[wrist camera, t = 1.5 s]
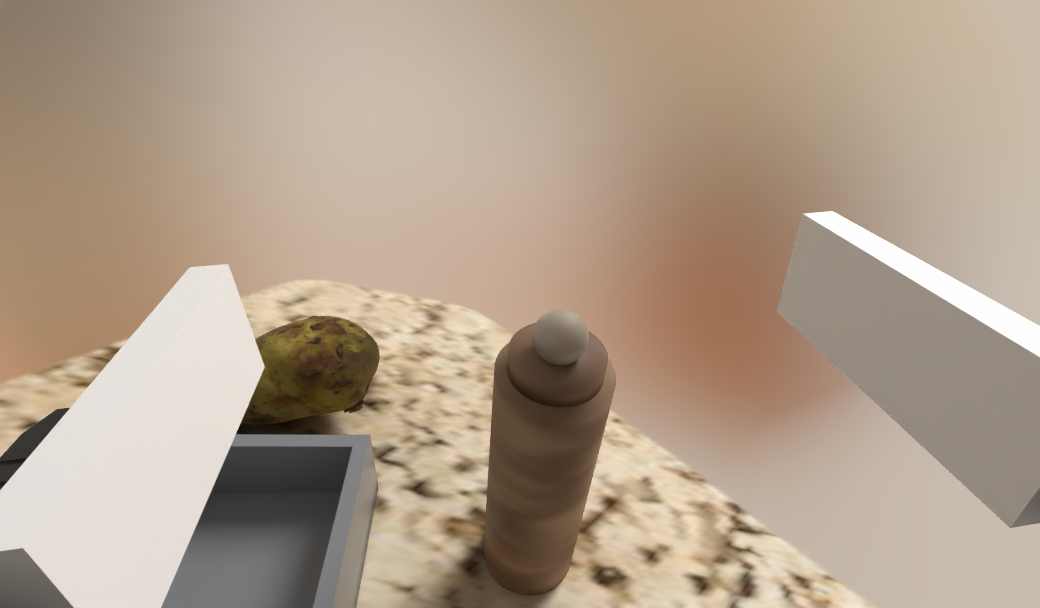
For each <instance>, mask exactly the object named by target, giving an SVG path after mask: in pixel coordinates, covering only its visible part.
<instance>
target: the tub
mask: <svg viewBox="0 0 1040 608" xmlns="http://www.w3.org/2000/svg"><path fill="white" fill-rule="evenodd" d="M377 492H378V484H377V477H376V470H375V464H374V457H373V450H372V443H371V437H370V435H263V434H236V435H235V437H234V440H233V442H232V444H231V446H230V449H229V451H228V453H227V456H226V458H225V460H224V463H223V465H222V467H221V470H220V472H219V474H218V477H217V479H216V481H215V484H214V486H213V488H212V491H211V493H210V495H209V498H208V500H207V502H206V505H205V507H204V509H203V511H202V514H201V516H200V518H199V521H198V523H197V525H196V528H195V530H194V532H193V535H192V537H191V539H190V542H189V544H188V546H187V549H186V551H185V553H184V556H183V558H182V560H181V563H180V565H179V567H178V570H177V572H176V574H175V576H174V579H173V581H172V583H171V586H170V588H169V590H168V593H167V595H166V597H165V600H164V602H163V604H162V607H161V608H356V604H357V599H358V594H359V588H360V583H361V578H362V572H363V567H364V561H365V556H366V551H367V545H368V540H369V535H370V529H371V524H372V518H373V513H374V508H375V502H376V497H377Z"/></svg>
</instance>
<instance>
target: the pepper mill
mask: <svg viewBox="0 0 1040 608" xmlns="http://www.w3.org/2000/svg"><path fill="white" fill-rule="evenodd" d="M615 385H616V375H615V371H614V368H613V366H612V364H611V362H610V360H609V359H608V355H607V351H606V349H605V347H604V345H603V344H602V343H601V341H600V340H599V339H598V338H597V337H596V336H594V335H593V334H592V333H590V332H589V331H588V329H587V326H586V324H585V322H584V321H583V320H582V318H581V317H580V316H579V315H577V314H576V313H574V312H572V311H569V310H565V309H555V310H551V311H549V312H547V313H545V314H544V315H542V316H541V317H540V318H539V319H538V321H537V323H534V324H531V325H528V326H526V327H524V328H522V329H521V330H519V331H518V332H517V333H516V334H515V335H514V336H513V337H512V339H511V341H510V343H508V344H507V345H506V346H505V347H504V348H503V349H502V350H501V351H500V353H499V354H498V356H497V358H496V362H495V369H494V386H493V403H492V420H491V437H490V454H489V470H488V487H487V504H486V521H485V538H484V557H485V562H486V565H487V567H488V569H489V571H490V573H491V574H492V576H493V577H494V578H495V579H496V581H497V582H498V583H500V584H501V585H502V586H503V587H505V588H507V589H508V590H510V591H513V592H516V593H519V594H524V595H535V594H541V593H544V592H547V591H549V590H551V589H552V588H554V587H555V586H557V585H558V584H559V583H560V582H561V581H562V580H563V578H564V577H565V576H566V574H567V572H568V569H569V567H570V563H571V559H572V555H573V551H574V547H575V544H576V540H577V536H578V532H579V528H580V524H581V520H582V516H583V512H584V508H585V504H586V500H587V496H588V492H589V488H590V484H591V481H592V477H593V473H594V469H595V465H596V461H597V457H598V453H599V449H600V445H601V441H602V437H603V433H604V429H605V425H606V421H607V418H608V414H609V410H610V406H611V402H612V398H613V393H614V390H615Z"/></svg>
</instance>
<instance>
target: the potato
mask: <svg viewBox="0 0 1040 608" xmlns="http://www.w3.org/2000/svg"><path fill="white" fill-rule="evenodd" d="M255 341H256V344H257V347H258V349H259V352H260V355H261V358H262V361H263V363H264V366H265V368H264V370H263V372H262V375H261V377H260V379H259V381H258V384H257V386H256V388H255V391H254V393H253V395H252V398H251V400H250V402H249V405H248V407H247V409H246V412H245V414H244V416H243V419H242V421H241V423H240V424H243V425H263V424H268V425H269V424H277V423H282V422H287V421H291V420H295V419H299V418H304V417H308V416H313V415H318V414H324V413H330V412H337V411H342V410H344V411H345V413H346V412H348V411H350V412H349V413H352V412H356V411H358V410H360V409H361V408H363V406H362V405H363V403H364V401H363V398H364V397H365V395H366V394H367V391H368V388H369V385H370V383H371V380H372V377H373V376H374V374H375V372H376V370H377V367H378V363H379V358H380V356H379V349H378V346H377V343H376V342H375V340H374V339H373V338H372V337H371V336H370V335H369V334H368V333H367V332H366V331H365V330H364V329H362V328H361V327H360V326H358V325H357V324H355V323H353V322H351V321H348V320H345V319H342V318H337V317H332V316H312V317H310V318H308V319H304V320H301V321H297V322H294V323H291V324H287V325H284V326H281V327H279V328H276V329H274V330H272V331H270V332H268V333H266V334H264V335H262V336H260V337H258V338H256V339H255Z"/></svg>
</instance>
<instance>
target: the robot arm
mask: <svg viewBox="0 0 1040 608" xmlns="http://www.w3.org/2000/svg"><path fill="white" fill-rule="evenodd" d="M777 312H779V313H780V314H781V315H782V316H783V317H784V318H785V319H786V320H787V321H788V322H789V323H790V324H791V325H792V326H794V327H795V328H796V329H797V330H798V331H799V332H800V333H801V334H802V335H803V336H804V337H805V338H806V339H808V340H809V341H810V342H811V343H812V344H813V345H814V346H815V347H816V348H817V349H818V350H819V351H820V352H821V353H823V354H824V355H825V356H826V357H827V358H828V359H829V360H830V361H831V362H832V363H833V364H834V365H835V366H837V367H838V368H839V369H840V370H841V371H842V372H843V373H844V374H845V375H846V376H848V378H849V379H851V380H852V381H853V382H854V383H855V384H856V385H857V386H858V387H859V388H860V389H861V390H862V391H864V393H866V394H867V395H868V396H869V397H870V398H871V399H872V400H873V401H874V402H875V403H876V404H877V405H879V406H880V407H881V408H882V409H883V410H884V411H885V412H886V413H887V414H888V415H889V416H890V417H891V418H892V419H894V420H895V421H896V422H897V423H898V424H899V425H900V426H901V427H902V428H903V429H904V430H905V431H907V432H908V433H909V434H910V435H911V436H912V437H913V438H914V439H915V440H916V441H917V442H918V443H919V444H920V445H921V446H923V447H924V448H925V449H926V450H927V451H928V452H929V453H930V454H931V455H932V456H933V457H934V458H935V459H937V460H938V461H939V462H940V463H941V464H942V465H943V466H944V467H945V468H946V469H947V470H948V471H949V472H951V473H952V474H953V475H954V476H955V477H956V478H957V479H958V480H959V481H960V482H961V483H962V484H963V485H965V486H966V487H967V488H968V489H969V490H970V491H971V492H972V493H973V494H974V495H975V496H976V497H978V498H979V499H980V500H981V501H982V502H983V503H984V504H985V505H986V506H987V507H988V508H989V509H990V510H991V511H992V512H994V513H995V514H996V515H997V516H998V517H999V518H1000V519H1001V520H1002V521H1003V522H1004V523H1006V525H1008V526H1009V527H1010V528H1013V527H1019V526H1024V525H1030V524H1036V523H1040V326H1038V325H1037V324H1035V323H1033V322H1031V321H1029V320H1028V319H1026V318H1024V317H1022V316H1020V315H1019V314H1017V313H1015V312H1013V311H1011V310H1010V309H1008V308H1006V307H1004V306H1002V305H1000V304H999V303H997V302H995V301H993V300H992V299H990V298H988V297H986V296H984V295H983V294H981V293H979V292H977V291H975V290H974V289H972V288H970V287H968V286H966V285H965V284H963V283H961V282H959V281H957V280H955V279H954V278H952V277H950V276H948V275H946V274H945V273H943V272H941V271H939V270H937V269H936V268H934V267H932V266H930V265H928V264H927V263H925V262H923V261H921V260H919V259H918V258H916V257H914V256H912V255H910V254H909V253H907V252H905V251H903V250H901V249H900V248H898V247H896V246H894V245H892V244H890V243H889V242H887V241H885V240H883V239H882V238H880V237H878V236H876V235H874V234H873V233H871V232H869V231H867V230H865V229H864V228H861V227H860V226H858V225H856V224H854V223H853V222H851V221H849V220H847V219H845V218H844V217H842V216H840V215H838V214H837V213H835V212H833V211H830V212H818V213H806V214H803V216H802V220H801V223H800V227H799V231H798V234H797V238H796V242H795V246H794V249H793V253H792V257H791V260H790V264H789V268H788V272H787V276H786V279H785V283H784V287H783V291H782V294H781V298H780V301H779V305H778V309H777ZM264 368H265V366H264V363H263V361H262V358H261V355H260V352H259V349H258V347H257V344H256V341H255V338H254V335H253V333H252V330H251V327H250V324H249V321H248V319H247V316H246V313H245V310H244V307H243V305H242V302H241V299H240V296H239V293H238V291H237V288H236V285H235V282H234V279H233V277H232V274H231V271H230V268H229V265H228V264H224V265H213V266H201V267H190V268H189V269H188V270H187V271H186V273H185V274H184V275H183V276H182V277H181V278H180V280H179V281H178V282H177V283H176V284H175V286H174V287H173V288H172V289H171V290H170V291H169V293H168V294H167V295H166V296H165V297H164V298H163V300H162V301H161V302H160V303H159V304H158V306H157V307H156V308H155V309H154V310H153V311H152V313H151V314H150V315H149V316H148V317H147V318H146V320H145V321H144V322H143V323H142V324H141V325H140V327H139V328H138V329H137V330H136V332H134V334H133V335H132V336H131V337H130V338H129V340H128V341H127V342H126V343H125V344H124V345H123V347H122V348H121V349H120V350H119V351H118V352H117V354H116V355H115V356H114V357H113V358H112V360H111V361H110V362H109V363H108V364H107V365H106V367H105V368H104V369H103V370H102V371H101V372H100V374H99V375H98V376H97V377H96V378H95V380H94V381H93V382H92V383H91V384H90V385H89V387H88V388H87V389H86V390H85V391H84V392H83V394H82V395H81V396H80V397H79V398H78V399H77V401H76V402H75V403H74V404H73V405H72V407H71V408H64V409H57V410H55V411H54V412H52V413H51V414H49V415H48V416H47V417H45V418H44V419H42V420H41V421H40V422H38V423H37V424H35V425H34V426H32V427H31V428H30V429H28V430H27V431H25V432H24V433H23V434H21V435H20V437H19V438H18V439H17V440H16V441H15V442H14V443H13V444H12V445H11V446H10V448H9V449H8V450H7V451H6V452H5V453H4V454H3V455H2V456H1V457H0V608H161V607H162V604H163V602H164V600H165V597H166V595H167V593H168V590H169V588H170V586H171V583H172V581H173V579H174V576H175V574H176V572H177V570H178V567H179V565H180V563H181V560H182V558H183V556H184V553H185V551H186V549H187V546H188V544H189V542H190V539H191V537H192V535H193V532H194V530H195V528H196V525H197V523H198V521H199V518H200V516H201V514H202V511H203V509H204V507H205V505H206V502H207V500H208V498H209V495H210V493H211V491H212V488H213V486H214V484H215V481H216V479H217V477H218V474H219V472H220V470H221V467H222V465H223V463H224V460H225V458H226V456H227V453H228V451H229V449H230V446H231V444H232V442H233V440H234V437H235V435H236V433H237V430H238V428H239V426H240V423H241V421H242V419H243V416H244V414H245V412H246V409H247V407H248V405H249V402H250V400H251V398H252V395H253V393H254V391H255V388H256V386H257V384H258V381H259V379H260V377H261V375H262V372H263V370H264Z"/></svg>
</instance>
